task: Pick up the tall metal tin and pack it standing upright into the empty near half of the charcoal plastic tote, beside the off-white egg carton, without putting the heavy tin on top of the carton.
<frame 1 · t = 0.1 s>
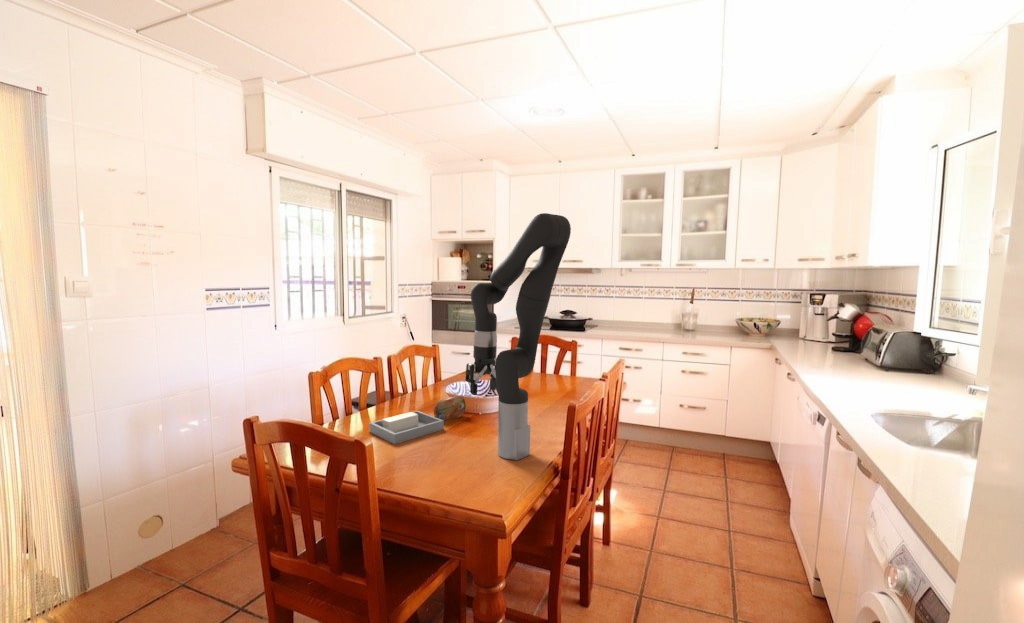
hand: (483, 392, 151), 17 cm above the table, tool pointing down, fingers open, 8 cm apart
tote: (406, 432, 161), on the table
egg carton: (400, 427, 163), point 1 cm above the table, touching tote
tin: (449, 419, 176), on the table
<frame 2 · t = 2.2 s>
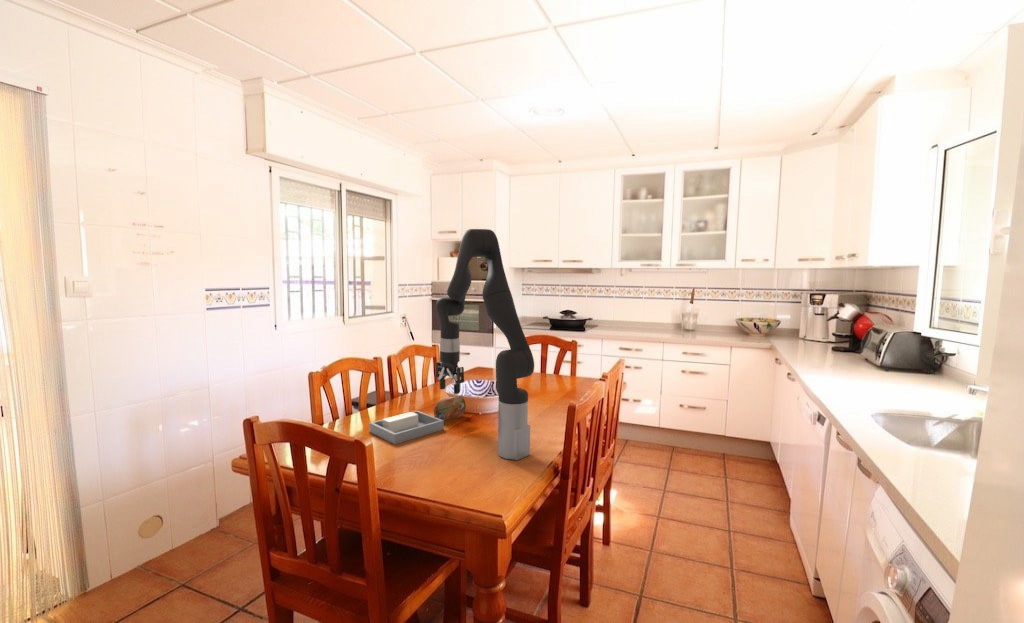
hand: (449, 391, 175), 11 cm above the table, tool pointing down, fingers open, 8 cm apart
nothing on the table moved.
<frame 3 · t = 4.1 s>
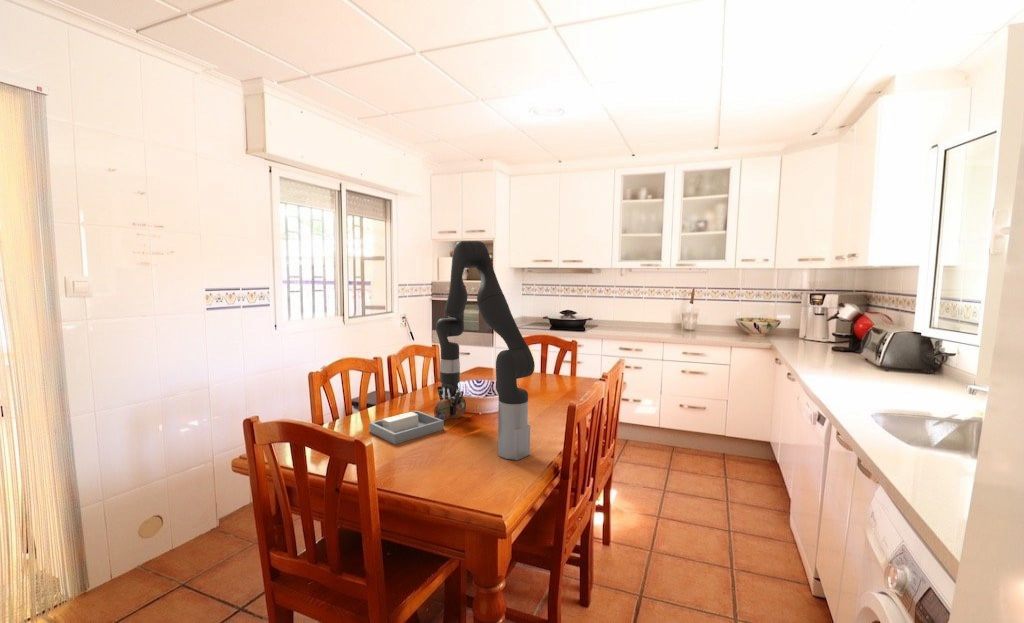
hand: (450, 414, 176), 2 cm above the table, tool pointing down, fingers closed on tin, 3 cm apart
tin: (449, 419, 176), on the table, touching gripper
everything else where it was.
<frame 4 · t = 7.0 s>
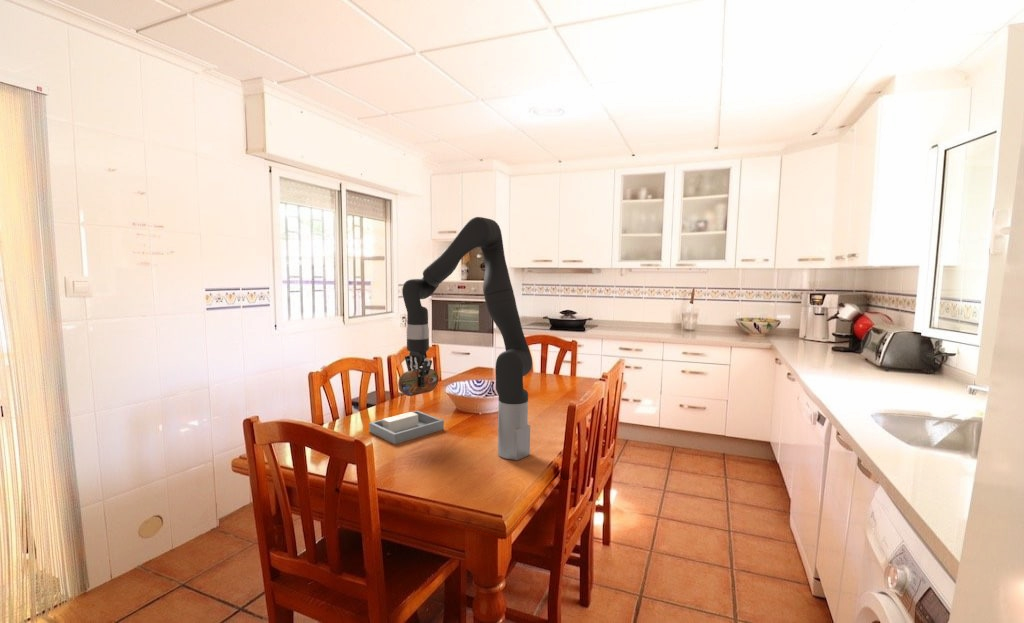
hand: (418, 385, 159), 17 cm above the table, tool pointing down, fingers closed on tin, 2 cm apart
tin: (417, 393, 159), point 14 cm above the table, touching gripper
everything else where it was.
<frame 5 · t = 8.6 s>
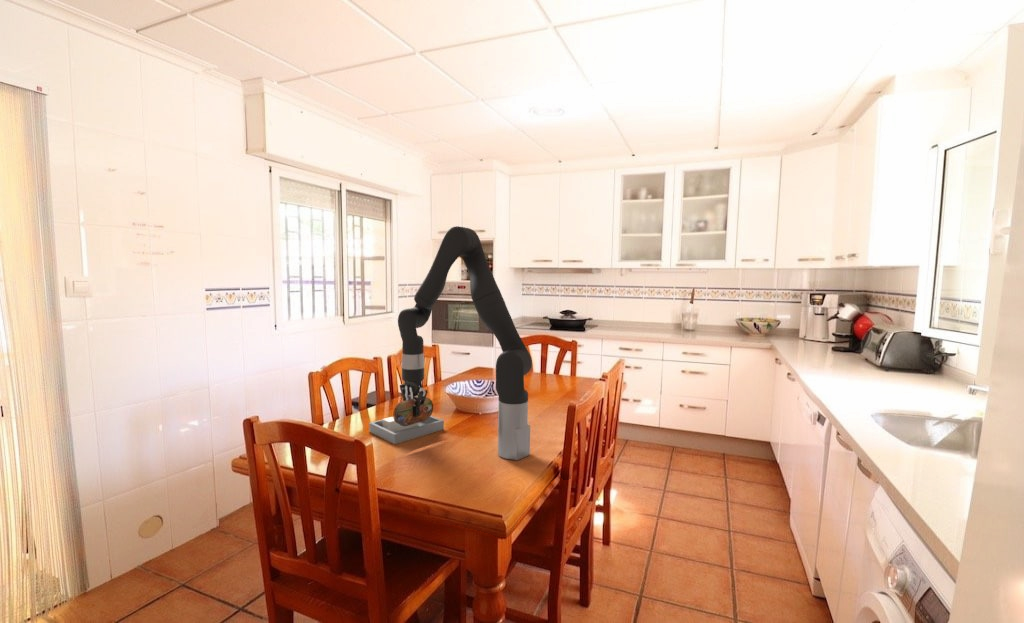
hand: (413, 415, 157), 7 cm above the table, tool pointing down, fingers closed on tin, 2 cm apart
tin: (412, 422, 158), point 4 cm above the table, touching gripper
everything else where it was.
when the fingers open (4 cm above the table, at t = 9.9 s): tin stays where it is, resting on tote.
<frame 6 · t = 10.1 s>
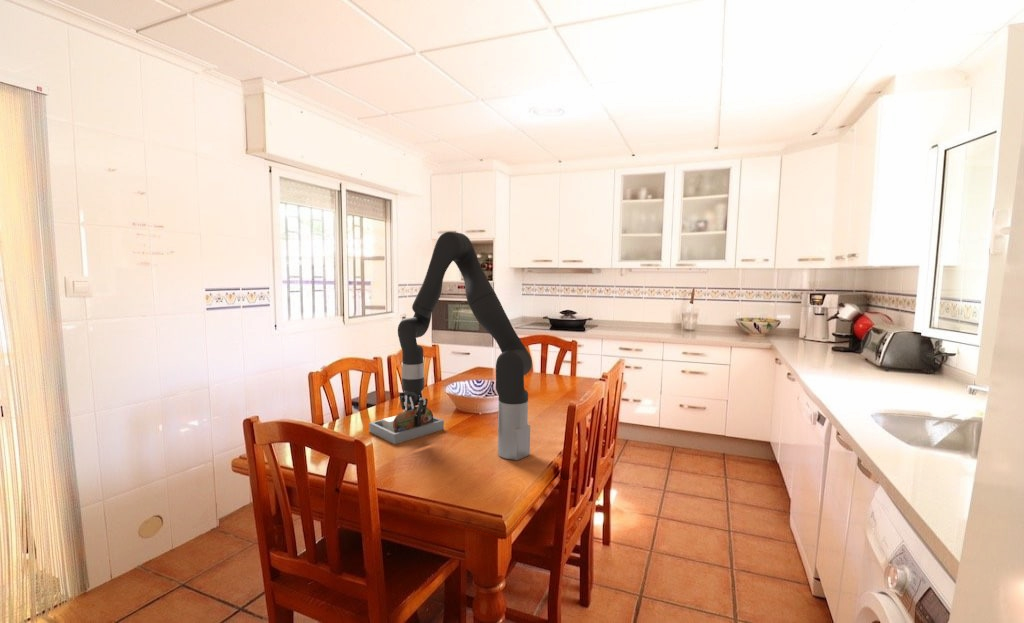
hand: (413, 424, 158), 4 cm above the table, tool pointing down, fingers open, 4 cm apart
tin: (413, 433, 158), point 1 cm above the table, touching tote
everything else where it was.
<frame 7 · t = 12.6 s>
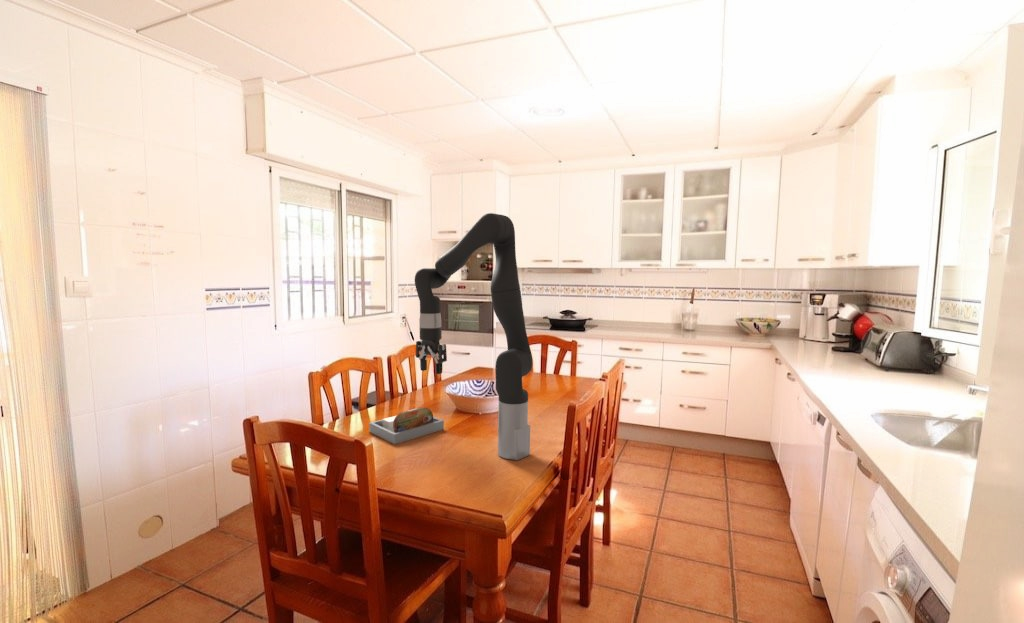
hand: (431, 372, 160), 22 cm above the table, tool pointing down, fingers open, 8 cm apart
nothing on the table moved.
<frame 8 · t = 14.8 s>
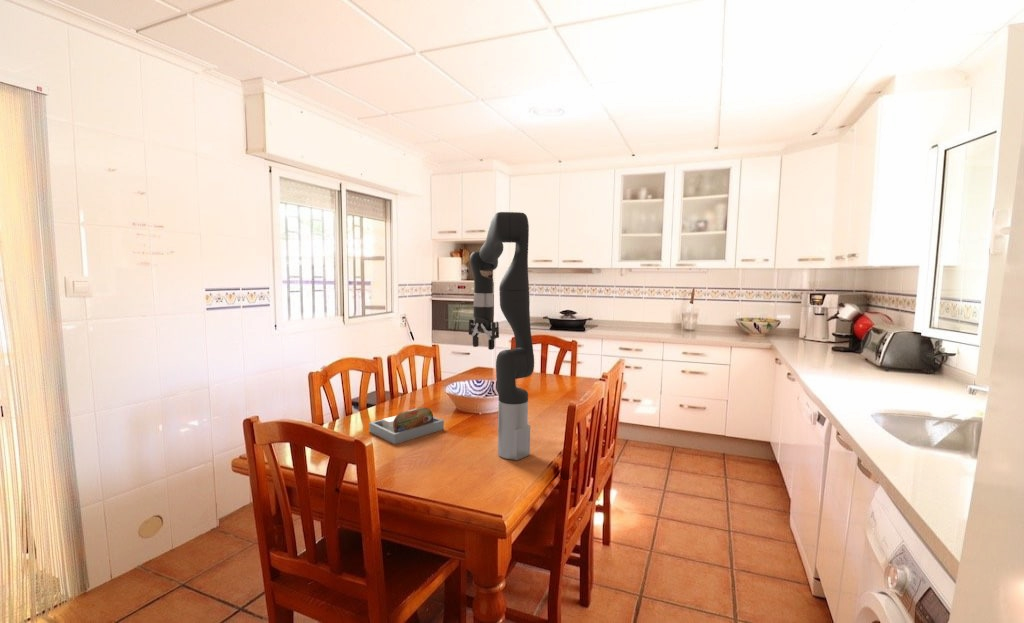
hand: (483, 348, 172), 28 cm above the table, tool pointing down, fingers open, 8 cm apart
nothing on the table moved.
at the end: tin 0.2 cm from the target spot on the tote, point 0.6 cm above the tote's base; tin tilted 0°; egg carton moved 0.0 cm from its start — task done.
